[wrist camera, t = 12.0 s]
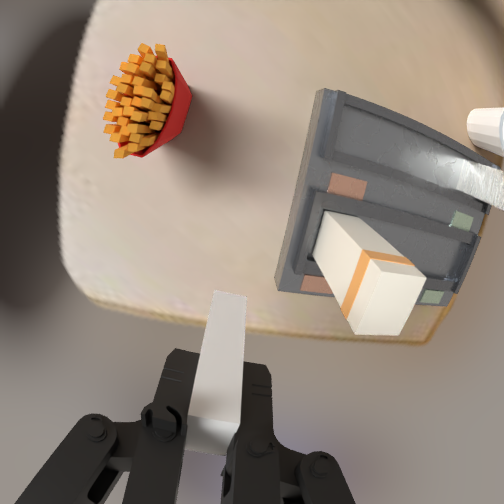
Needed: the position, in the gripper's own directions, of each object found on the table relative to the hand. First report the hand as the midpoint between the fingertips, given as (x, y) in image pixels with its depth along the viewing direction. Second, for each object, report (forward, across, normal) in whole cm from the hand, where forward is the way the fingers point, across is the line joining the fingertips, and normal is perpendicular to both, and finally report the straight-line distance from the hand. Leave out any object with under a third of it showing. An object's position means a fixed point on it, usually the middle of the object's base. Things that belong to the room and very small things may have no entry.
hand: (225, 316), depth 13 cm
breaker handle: (+17, +10, 0) cm, 20 cm away
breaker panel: (+21, +19, +3) cm, 28 cm away
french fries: (+19, -10, +8) cm, 23 cm away
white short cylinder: (+22, +29, +19) cm, 41 cm away
